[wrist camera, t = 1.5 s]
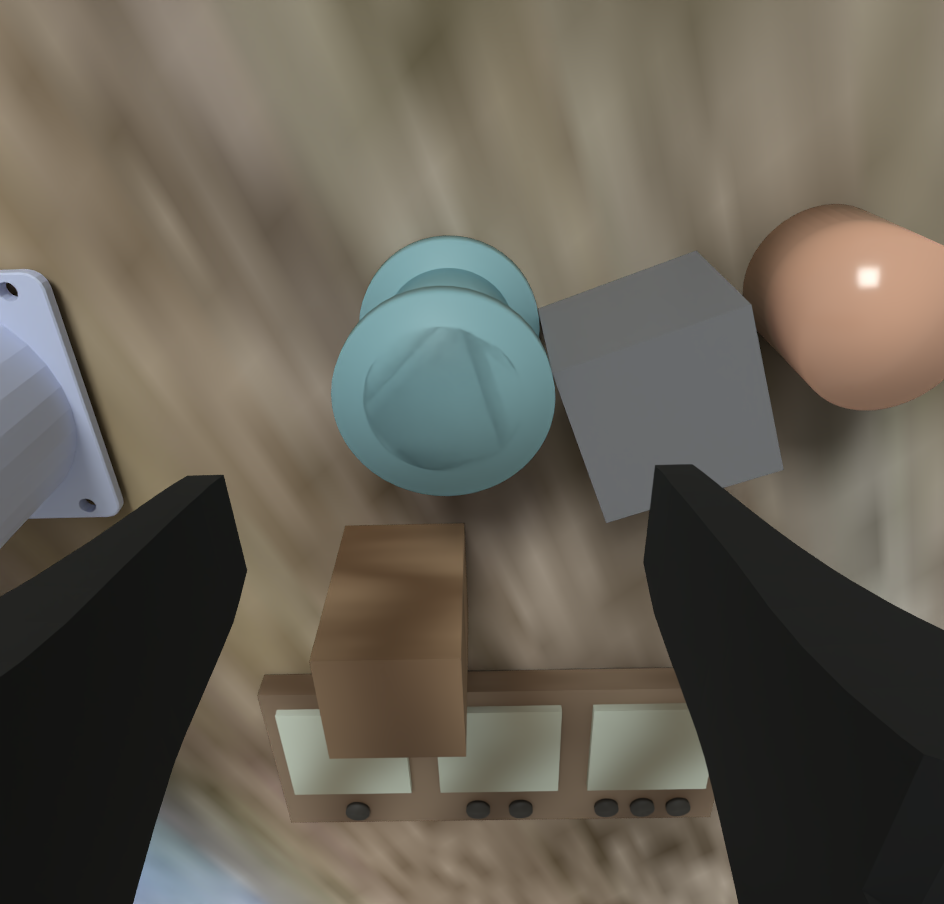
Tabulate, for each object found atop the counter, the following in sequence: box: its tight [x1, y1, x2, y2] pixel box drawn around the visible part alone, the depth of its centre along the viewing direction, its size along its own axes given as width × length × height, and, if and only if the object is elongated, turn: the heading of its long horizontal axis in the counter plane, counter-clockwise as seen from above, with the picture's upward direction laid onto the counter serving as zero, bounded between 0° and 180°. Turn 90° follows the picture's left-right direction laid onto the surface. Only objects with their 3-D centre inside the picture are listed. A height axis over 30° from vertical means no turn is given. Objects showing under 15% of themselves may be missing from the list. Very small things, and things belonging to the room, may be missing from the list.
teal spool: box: [331, 236, 555, 496], centre depth 18 cm, size 5×5×5 cm
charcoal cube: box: [538, 251, 784, 523], centre depth 19 cm, size 4×4×4 cm
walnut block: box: [309, 523, 468, 759], centre depth 22 cm, size 4×4×6 cm
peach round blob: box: [743, 204, 944, 410], centre depth 18 cm, size 4×4×4 cm
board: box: [257, 668, 714, 823], centre depth 29 cm, size 18×8×1 cm, turn 92°
